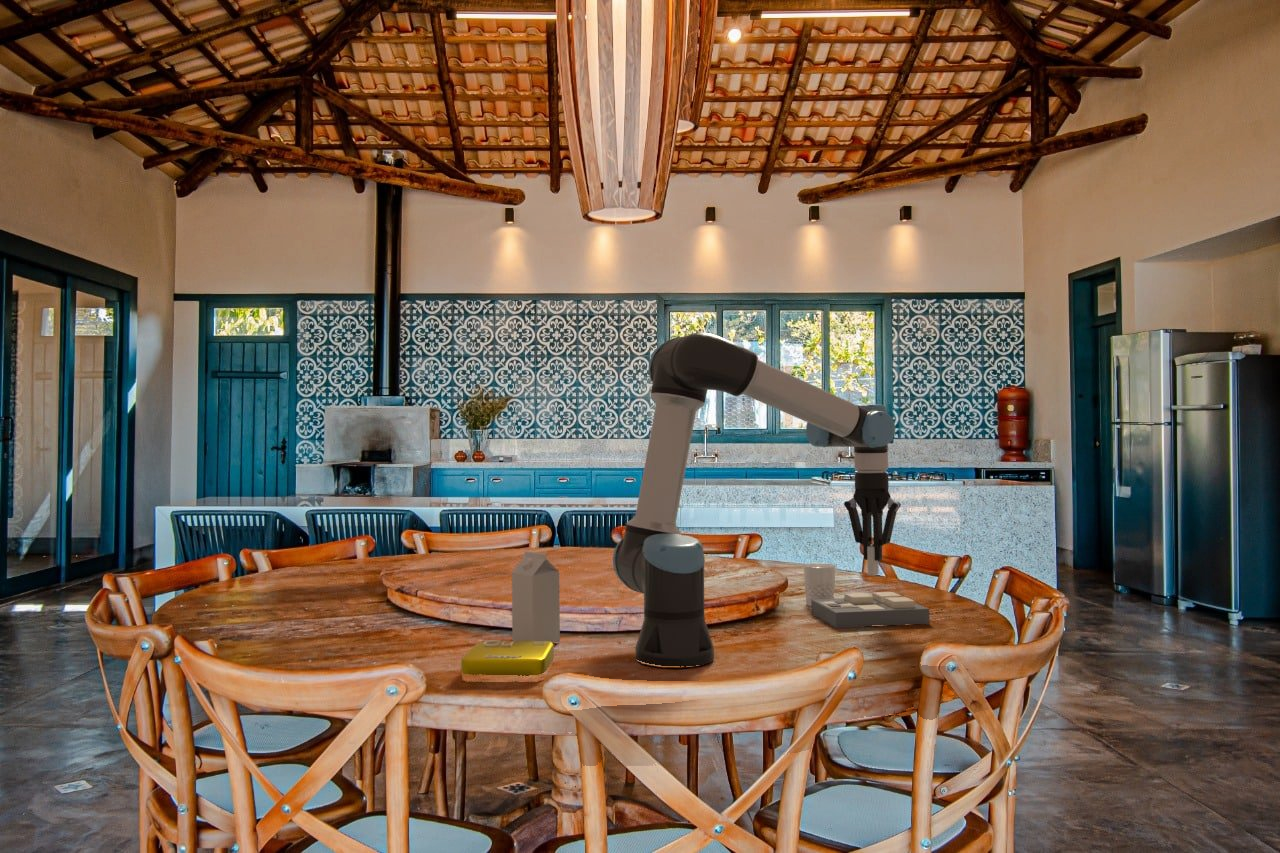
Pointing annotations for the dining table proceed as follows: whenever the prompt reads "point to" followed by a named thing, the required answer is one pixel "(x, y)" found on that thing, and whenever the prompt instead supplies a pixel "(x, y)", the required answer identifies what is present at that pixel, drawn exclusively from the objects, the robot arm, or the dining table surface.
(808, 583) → the white cup
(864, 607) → the button
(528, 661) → the element tile
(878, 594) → the button
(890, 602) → the button
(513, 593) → the milk carton
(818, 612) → the board
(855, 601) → the button
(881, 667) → the dining table surface
